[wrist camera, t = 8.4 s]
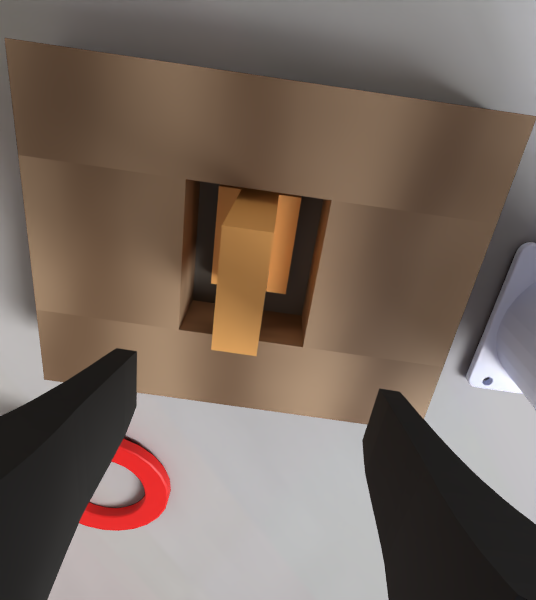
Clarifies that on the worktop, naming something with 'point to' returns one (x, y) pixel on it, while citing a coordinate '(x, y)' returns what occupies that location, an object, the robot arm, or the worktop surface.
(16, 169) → the worktop surface
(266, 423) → the worktop surface
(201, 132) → the well board
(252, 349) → the orange t-shaped beam
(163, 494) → the tow hook
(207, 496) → the worktop surface
